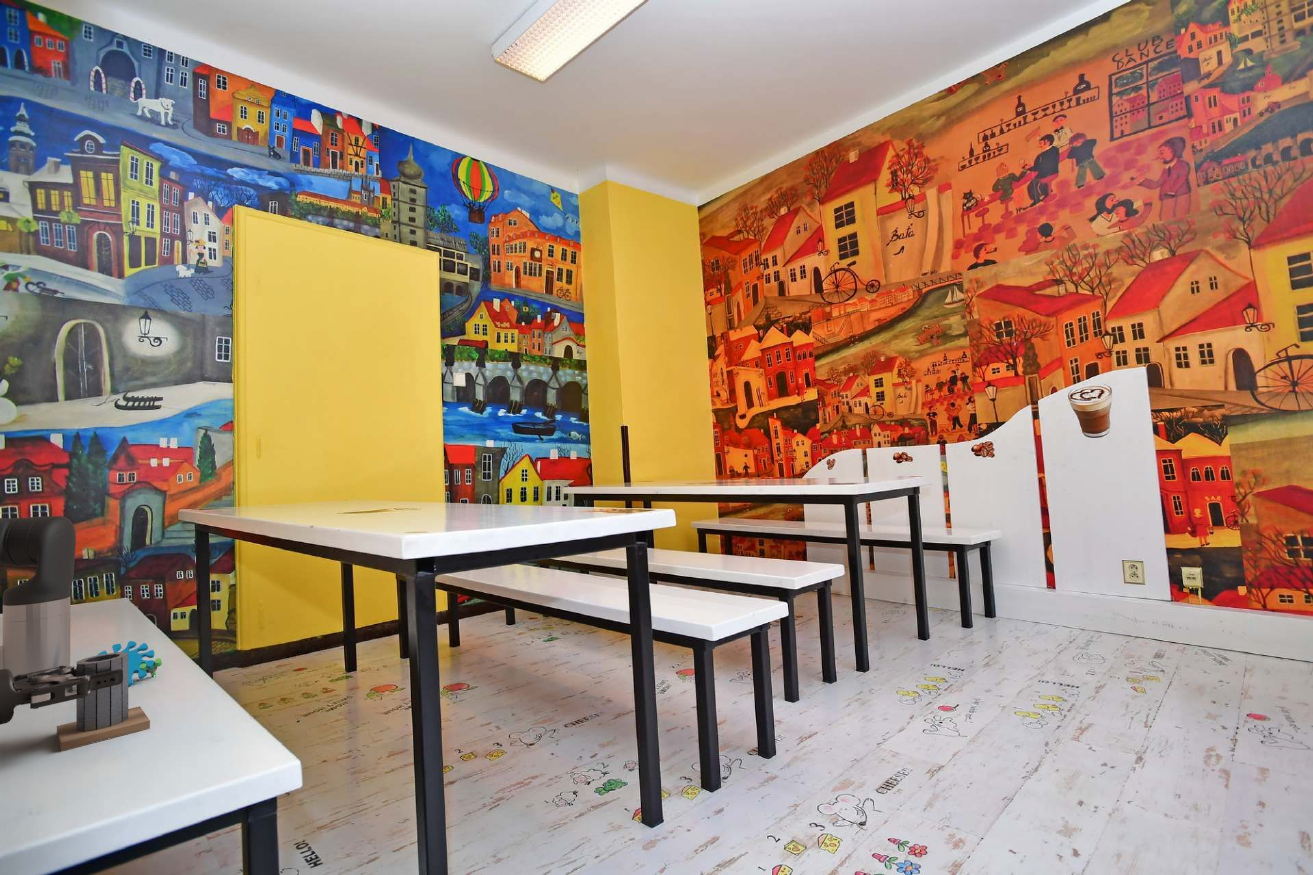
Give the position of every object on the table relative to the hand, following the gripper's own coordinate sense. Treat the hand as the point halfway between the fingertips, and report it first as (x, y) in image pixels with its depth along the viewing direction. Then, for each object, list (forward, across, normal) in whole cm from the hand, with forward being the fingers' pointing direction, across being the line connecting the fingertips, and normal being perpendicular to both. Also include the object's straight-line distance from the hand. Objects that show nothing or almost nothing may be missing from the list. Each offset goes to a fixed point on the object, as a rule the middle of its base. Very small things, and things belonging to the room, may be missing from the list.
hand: (114, 671), depth 98 cm
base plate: (-1, 0, +9) cm, 9 cm away
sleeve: (-1, 0, +8) cm, 8 cm away
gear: (+8, +29, +9) cm, 31 cm away
